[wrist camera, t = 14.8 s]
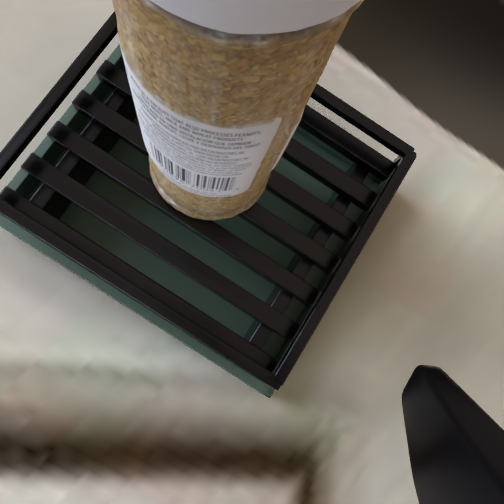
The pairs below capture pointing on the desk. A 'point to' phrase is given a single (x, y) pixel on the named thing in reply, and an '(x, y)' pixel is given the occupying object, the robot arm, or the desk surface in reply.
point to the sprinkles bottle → (223, 90)
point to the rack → (157, 296)
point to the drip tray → (190, 237)
